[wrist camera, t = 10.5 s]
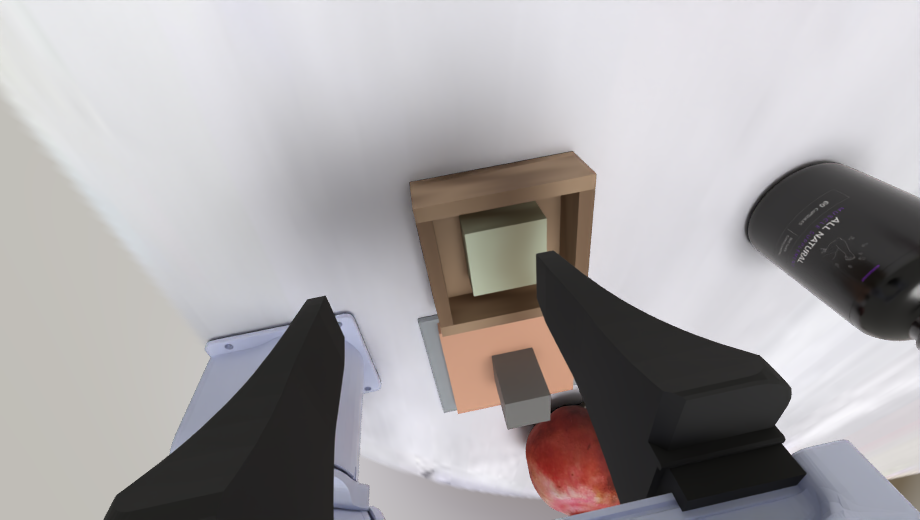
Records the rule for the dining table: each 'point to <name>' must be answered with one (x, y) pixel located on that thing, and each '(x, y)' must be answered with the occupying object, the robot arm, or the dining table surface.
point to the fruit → (569, 463)
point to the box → (501, 235)
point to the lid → (507, 370)
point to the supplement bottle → (847, 245)
